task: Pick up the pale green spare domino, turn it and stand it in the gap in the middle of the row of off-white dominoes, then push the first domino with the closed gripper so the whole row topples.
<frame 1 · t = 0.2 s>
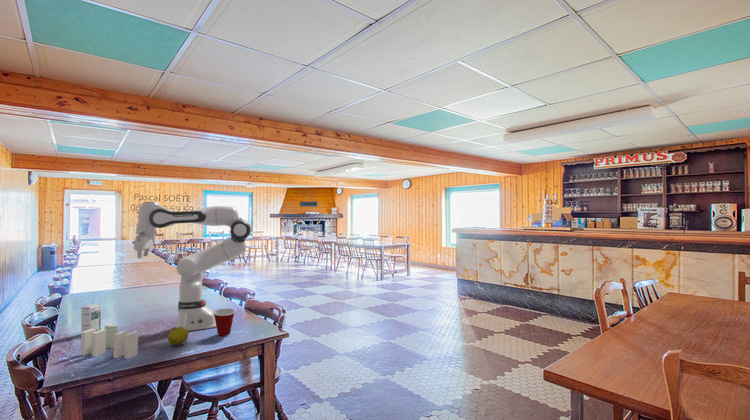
hand: (142, 257, 194), 39 cm above the table, tool pointing down, fingers open, 8 cm apart
lemon: (177, 345, 170), on the table
domino 4: (120, 355, 157), on the table
syrup box: (90, 333, 188), on the table
domino 2: (98, 354, 159), on the table
plastic cup: (224, 334, 186), on the table
domino 1: (88, 353, 160), on the table
spare domino: (110, 347, 168), on the table
domino 5: (131, 356, 156), on the table
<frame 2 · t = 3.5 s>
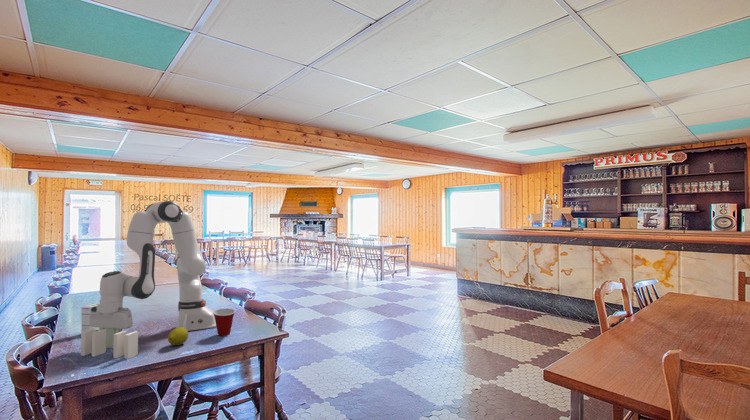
hand: (111, 337, 168), 5 cm above the table, tool pointing down, fingers closed on spare domino, 5 cm apart
spare domino: (110, 347, 168), on the table, touching gripper
everything else where it was.
when the fingers open (6 cm above the table, at t = 10.1 s): spare domino stays where it is, on the table.
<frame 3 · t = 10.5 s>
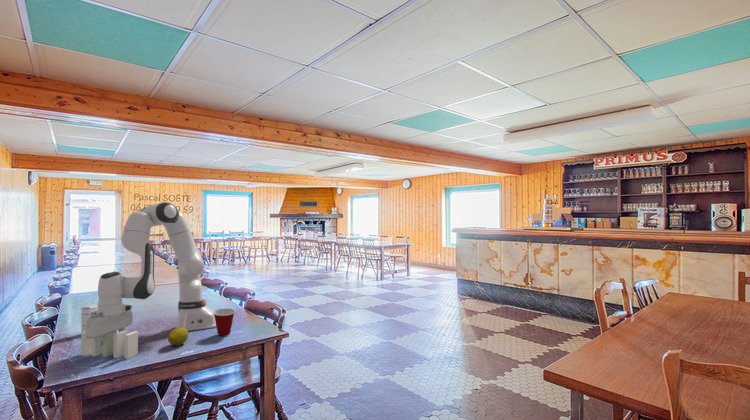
hand: (109, 341, 159), 6 cm above the table, tool pointing down, fingers open, 8 cm apart
spare domino: (109, 354, 159), on the table
everything else where it was.
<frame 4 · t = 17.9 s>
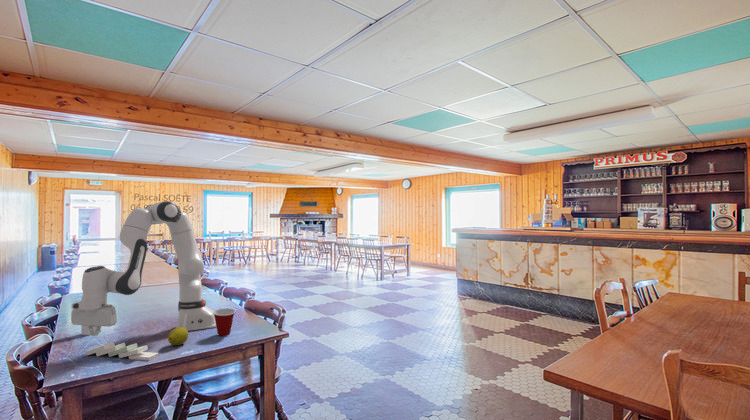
hand: (94, 335, 160), 8 cm above the table, tool pointing down, fingers closed
domino 4: (124, 354, 157), point 1 cm above the table, tilted 74°, touching spare domino
domino 2: (101, 352, 159), point 1 cm above the table, tilted 71°, touching domino 1, spare domino
domino 1: (91, 351, 160), point 1 cm above the table, tilted 71°, touching domino 2
spare domino: (113, 352, 158), point 1 cm above the table, tilted 71°, touching domino 2, domino 4
domino 5: (133, 355, 156), on the table, tilted 90°
everything else where it was.
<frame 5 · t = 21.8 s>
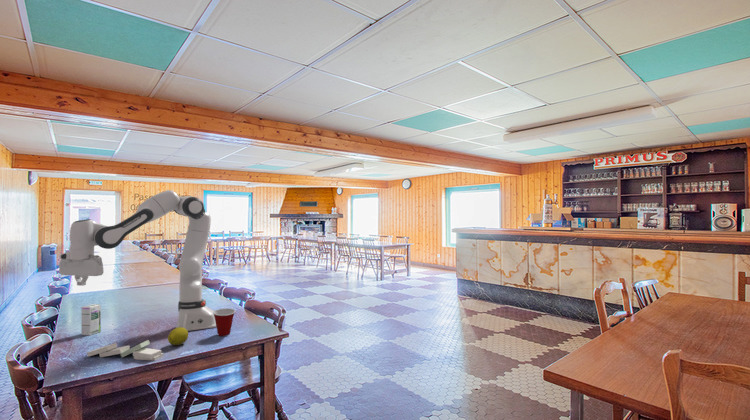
hand: (81, 285, 165), 29 cm above the table, tool pointing down, fingers closed
domino 4: (138, 351, 156), point 2 cm above the table, tilted 90°, touching domino 5, spare domino
domino 2: (104, 353, 158), point 1 cm above the table, tilted 78°, touching domino 1, spare domino
domino 1: (92, 352, 159), point 1 cm above the table, tilted 72°, touching domino 2
spare domino: (125, 353, 158), point 1 cm above the table, tilted 63°, touching domino 2, domino 4
domino 5: (138, 356, 156), on the table, tilted 90°, touching domino 4
everything else where it was.
at the end: domino 5 tilted 90°; spare domino tilted 65° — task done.
